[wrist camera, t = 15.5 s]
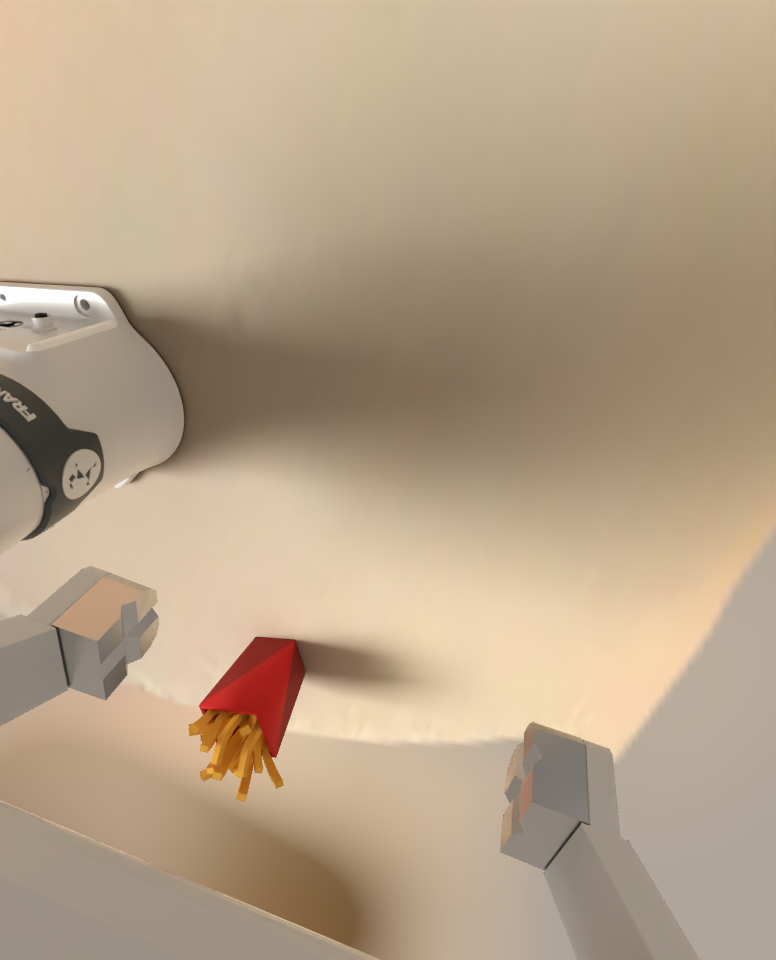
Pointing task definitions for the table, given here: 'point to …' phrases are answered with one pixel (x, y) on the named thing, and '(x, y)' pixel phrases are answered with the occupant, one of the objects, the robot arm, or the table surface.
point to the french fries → (250, 711)
